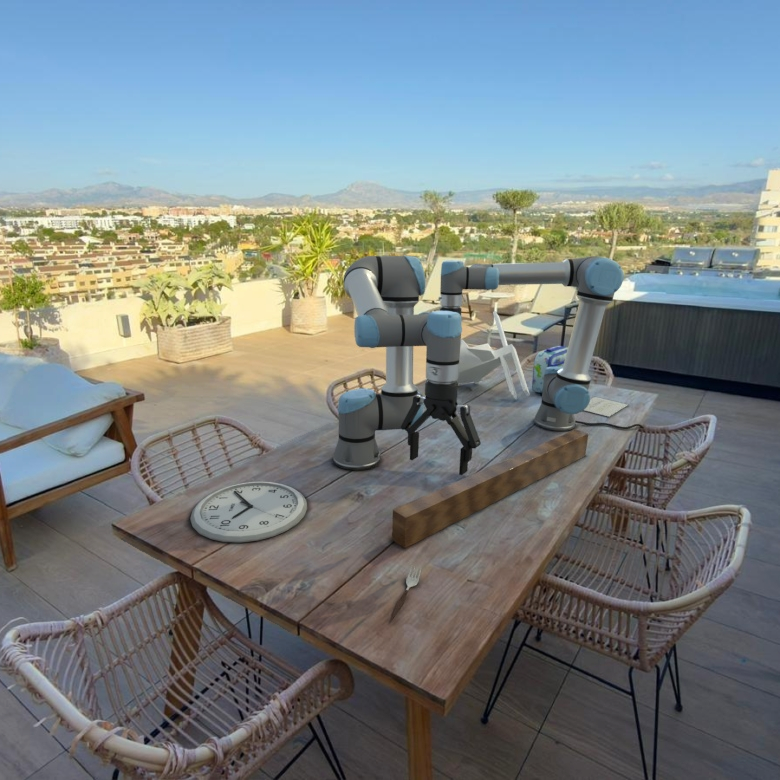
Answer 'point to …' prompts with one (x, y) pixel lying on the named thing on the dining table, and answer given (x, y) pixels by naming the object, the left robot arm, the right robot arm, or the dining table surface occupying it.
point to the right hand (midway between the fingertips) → (448, 366)
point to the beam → (484, 488)
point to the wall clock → (248, 512)
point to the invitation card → (604, 406)
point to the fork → (410, 583)
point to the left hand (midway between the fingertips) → (437, 465)
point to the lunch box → (547, 364)
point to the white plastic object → (489, 361)
